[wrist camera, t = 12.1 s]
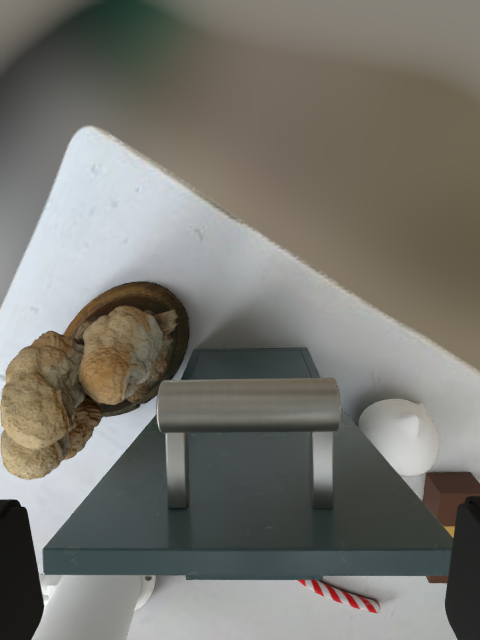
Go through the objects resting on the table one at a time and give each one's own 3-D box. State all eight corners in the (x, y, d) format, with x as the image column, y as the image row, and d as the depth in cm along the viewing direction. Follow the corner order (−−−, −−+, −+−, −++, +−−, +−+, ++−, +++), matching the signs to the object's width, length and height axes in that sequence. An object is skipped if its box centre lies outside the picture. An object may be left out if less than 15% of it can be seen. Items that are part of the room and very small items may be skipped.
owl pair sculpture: (117, 441, 45) (39, 572, 28) (30, 378, 43) (-107, 478, 26) (216, 326, 41) (193, 399, 24) (125, 252, 39) (35, 277, 23)
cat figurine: (372, 542, 36) (458, 448, 33) (286, 458, 40) (355, 368, 37) (387, 506, 43) (459, 427, 40) (313, 439, 48) (373, 362, 45)
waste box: (304, 489, 46) (322, 580, 34) (201, 490, 46) (185, 580, 35) (307, 347, 41) (329, 397, 30) (193, 349, 42) (172, 398, 30)
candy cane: (361, 629, 49) (272, 565, 47) (358, 619, 50) (271, 556, 48) (406, 593, 47) (316, 525, 45) (402, 583, 49) (314, 517, 47)
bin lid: (464, 577, 11) (465, 394, 11) (42, 576, 11) (35, 399, 11) (330, 404, 29) (330, 336, 29) (171, 406, 30) (169, 338, 29)
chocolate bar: (415, 557, 48) (428, 583, 44) (425, 472, 45) (440, 493, 41) (458, 557, 48) (474, 583, 44) (470, 471, 44) (489, 493, 41)
